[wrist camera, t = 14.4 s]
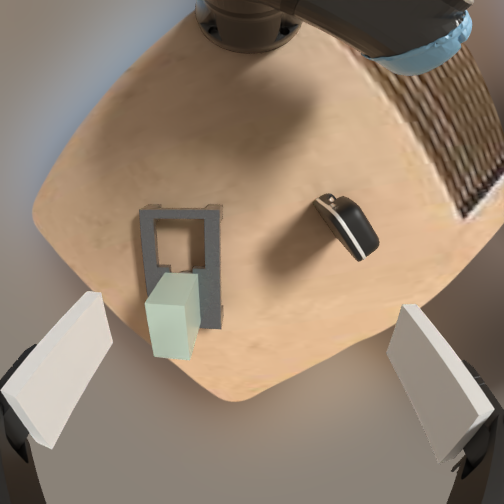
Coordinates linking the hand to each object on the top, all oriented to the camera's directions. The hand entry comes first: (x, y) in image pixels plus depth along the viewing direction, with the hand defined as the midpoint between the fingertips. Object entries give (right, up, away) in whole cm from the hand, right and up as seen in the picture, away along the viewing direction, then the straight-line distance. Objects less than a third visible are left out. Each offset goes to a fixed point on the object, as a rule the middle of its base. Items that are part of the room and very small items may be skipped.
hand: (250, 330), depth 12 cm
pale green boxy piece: (-10, -2, +33) cm, 35 cm away
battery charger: (+12, +9, +30) cm, 33 cm away
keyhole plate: (-10, +2, +32) cm, 34 cm away
